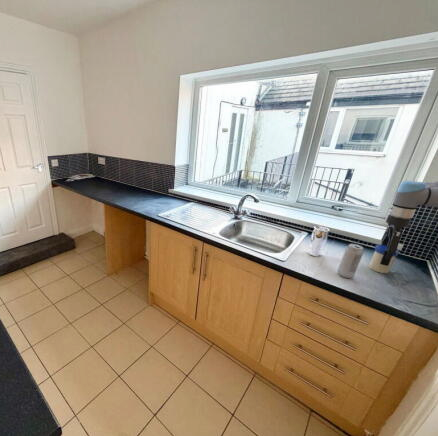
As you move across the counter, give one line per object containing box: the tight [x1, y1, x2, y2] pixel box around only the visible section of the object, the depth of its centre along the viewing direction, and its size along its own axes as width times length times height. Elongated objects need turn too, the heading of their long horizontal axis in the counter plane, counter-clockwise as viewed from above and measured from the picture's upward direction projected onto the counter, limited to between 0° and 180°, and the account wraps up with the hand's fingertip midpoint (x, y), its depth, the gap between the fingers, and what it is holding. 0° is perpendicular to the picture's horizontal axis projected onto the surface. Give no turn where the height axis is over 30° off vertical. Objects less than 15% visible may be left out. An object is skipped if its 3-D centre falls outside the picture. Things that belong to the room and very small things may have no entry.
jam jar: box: [368, 250, 396, 274], centre depth 115 cm, size 7×7×11 cm
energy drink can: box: [337, 243, 365, 279], centre depth 109 cm, size 6×6×15 cm
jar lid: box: [373, 244, 400, 258], centre depth 114 cm, size 8×8×2 cm
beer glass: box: [307, 225, 331, 257], centre depth 128 cm, size 7×7×15 cm
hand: (382, 260), depth 115 cm, fingers open, 9 cm apart
